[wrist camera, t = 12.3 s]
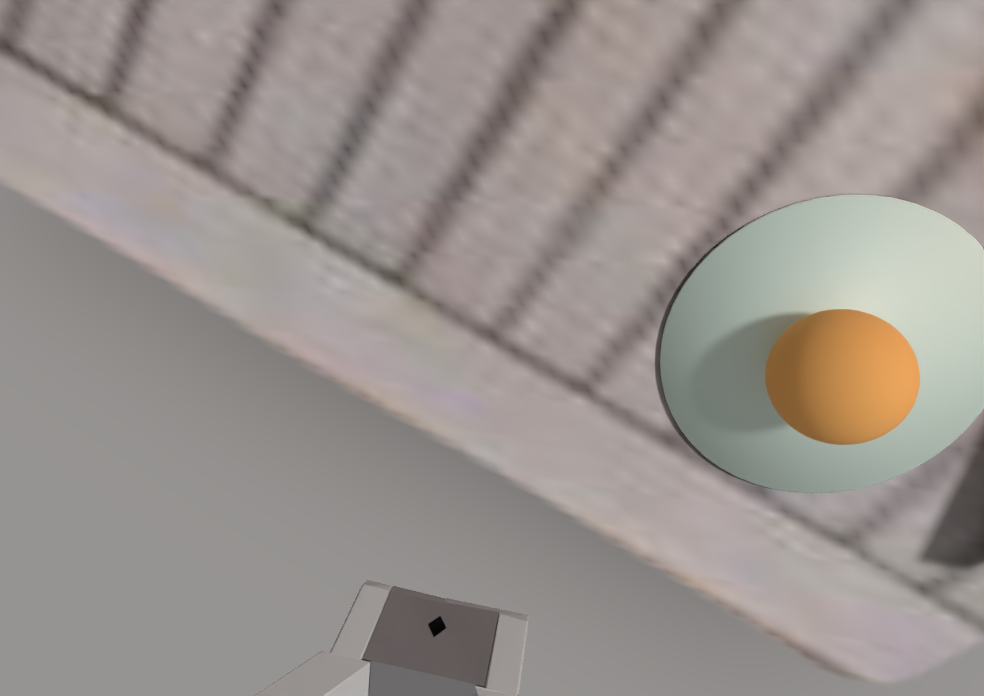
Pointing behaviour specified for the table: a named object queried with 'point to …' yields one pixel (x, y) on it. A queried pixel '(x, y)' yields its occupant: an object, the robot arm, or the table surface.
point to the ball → (842, 376)
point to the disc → (813, 288)
